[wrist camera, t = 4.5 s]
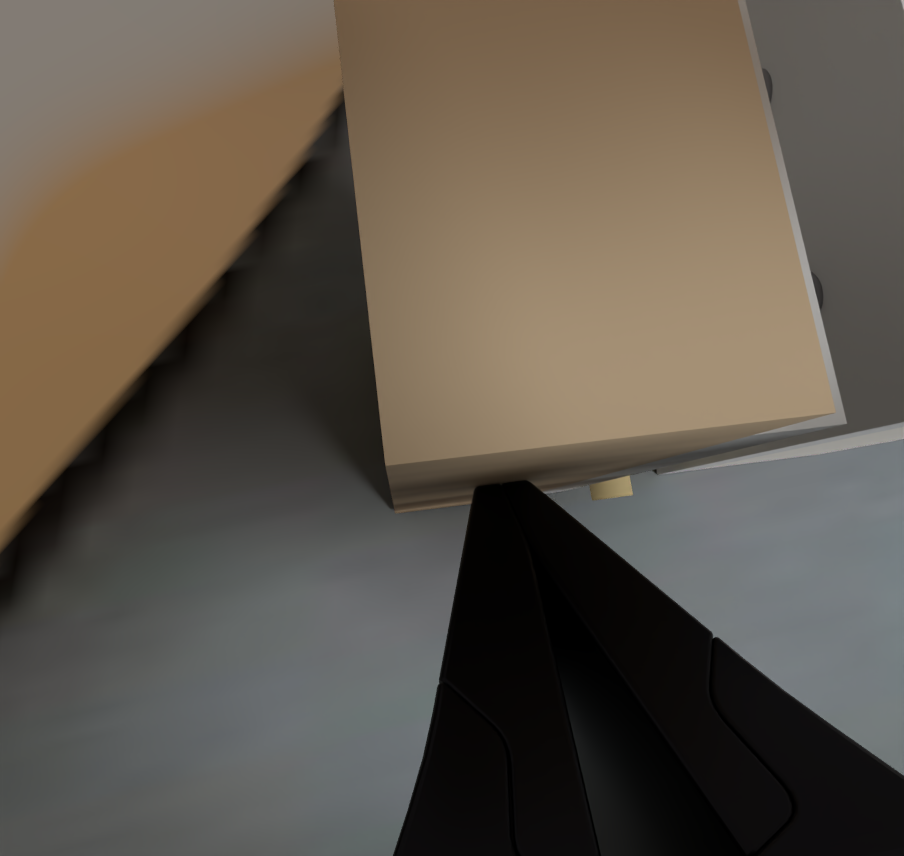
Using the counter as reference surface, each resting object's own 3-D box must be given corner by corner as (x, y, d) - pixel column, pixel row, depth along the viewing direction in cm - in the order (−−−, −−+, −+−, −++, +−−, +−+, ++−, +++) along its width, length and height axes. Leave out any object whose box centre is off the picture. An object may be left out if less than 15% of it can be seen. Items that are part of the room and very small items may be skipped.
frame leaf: (820, 471, 17) (1370, 394, 8) (525, 509, 16) (714, 478, 7) (755, 190, 19) (1145, -180, 9) (481, 210, 18) (582, -182, 8)
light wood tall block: (646, 481, 17) (1236, 365, 5) (395, 513, 16) (384, 465, 4) (616, 315, 18) (1063, -125, 6) (375, 338, 17) (319, -119, 5)
